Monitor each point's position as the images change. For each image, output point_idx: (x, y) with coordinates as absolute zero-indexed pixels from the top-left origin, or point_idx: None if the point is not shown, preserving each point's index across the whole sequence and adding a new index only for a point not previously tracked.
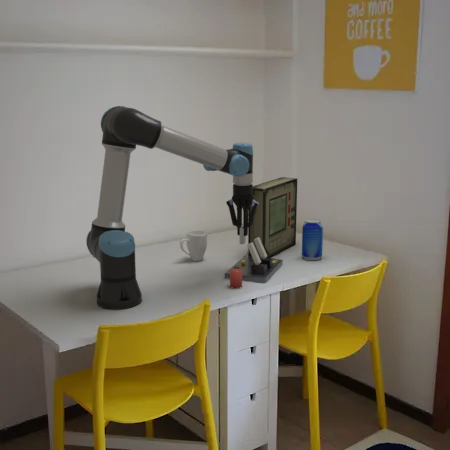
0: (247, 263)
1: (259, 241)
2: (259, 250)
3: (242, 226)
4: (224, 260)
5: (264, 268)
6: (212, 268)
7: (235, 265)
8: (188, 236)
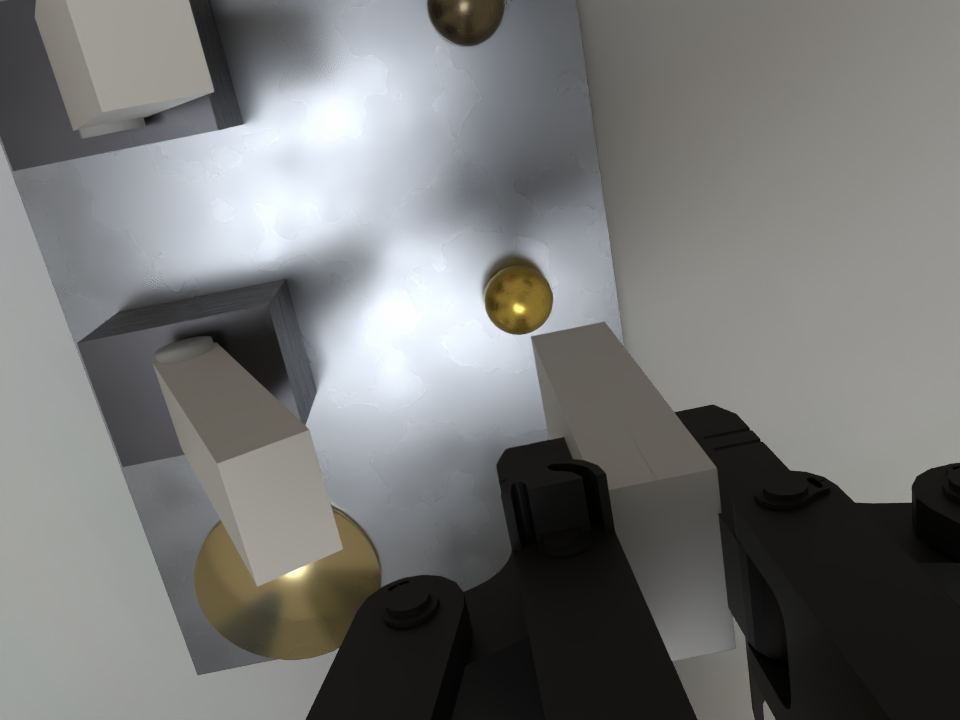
0: (484, 349)
1: (213, 480)
2: (225, 377)
3: (715, 647)
4: (853, 445)
5: None
6: (861, 104)
7: (580, 193)
8: None
